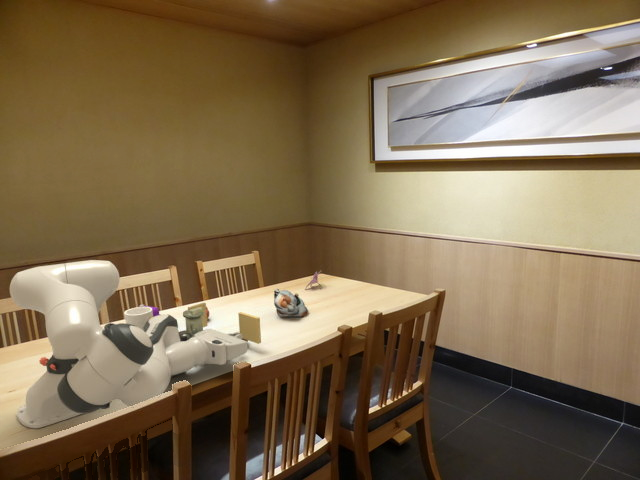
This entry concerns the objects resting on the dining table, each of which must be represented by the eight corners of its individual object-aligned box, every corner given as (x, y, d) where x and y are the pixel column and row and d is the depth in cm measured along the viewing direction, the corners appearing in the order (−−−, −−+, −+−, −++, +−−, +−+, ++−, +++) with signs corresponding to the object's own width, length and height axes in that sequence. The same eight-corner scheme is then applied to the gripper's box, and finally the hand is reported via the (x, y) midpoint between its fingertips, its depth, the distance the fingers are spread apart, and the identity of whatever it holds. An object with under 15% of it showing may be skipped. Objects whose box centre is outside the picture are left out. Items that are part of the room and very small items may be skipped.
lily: (321, 286, 239) (312, 270, 239) (334, 281, 230) (324, 265, 229) (306, 298, 232) (296, 281, 231) (318, 293, 223) (308, 277, 222)
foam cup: (126, 352, 160) (122, 316, 158) (129, 342, 169) (125, 308, 166) (154, 348, 162) (151, 313, 160) (156, 338, 171) (153, 305, 169)
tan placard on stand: (252, 352, 153) (251, 320, 151) (225, 342, 162) (223, 312, 160) (266, 345, 158) (265, 315, 156) (239, 336, 167) (238, 307, 165)
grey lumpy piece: (313, 315, 192) (305, 291, 183) (289, 330, 188) (280, 307, 180) (295, 297, 203) (287, 274, 195) (272, 311, 199) (263, 288, 191)
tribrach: (184, 372, 143) (180, 326, 141) (145, 353, 158) (141, 312, 156) (247, 345, 163) (245, 304, 160) (208, 330, 178) (205, 293, 175)
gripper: (186, 349, 150) (220, 337, 160) (225, 366, 136) (260, 351, 147) (185, 331, 149) (219, 319, 159) (224, 346, 135) (259, 332, 146)
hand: (239, 335), depth 153 cm, fingers closed
